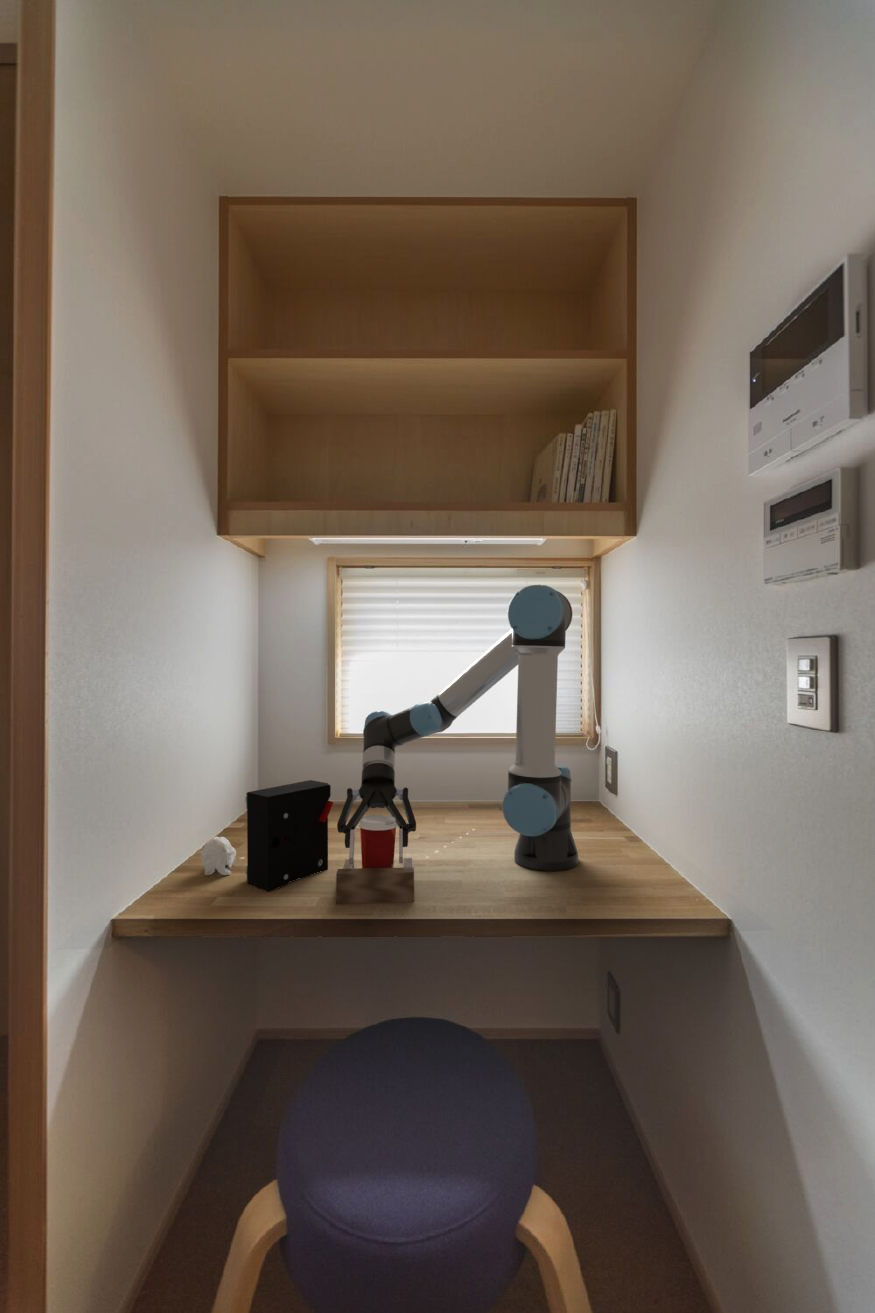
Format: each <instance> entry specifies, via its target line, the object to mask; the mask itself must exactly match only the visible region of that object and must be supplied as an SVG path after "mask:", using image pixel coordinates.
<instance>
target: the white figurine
mask: <svg viewBox="0 0 875 1313" xmlns="http://www.w3.org/2000/svg"><path fill="white" fill-rule="evenodd" d="M200 855H201V863H202V864H203V867H204V875H205V876H211V875H213V874H214V873H215V871H217V872H218V874H220V875H222V876H227V875H228V876H230V875H231V874H232V871H231V870H229V869H227V868H226V866H228V868H232V866H233V865H235V862H237V860H238V858H237V857H236V855H237V851H236V849H235V848H234V847H233V846H232V844H231V842H230V841H229V840H228V839H227V838H226V837H224V836H220V837H219V836H214V837H212V838H211V839H209V840H208V841H207V842H206V843H205V844H204V846H203V849H202V850H201V852H200Z"/></svg>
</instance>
